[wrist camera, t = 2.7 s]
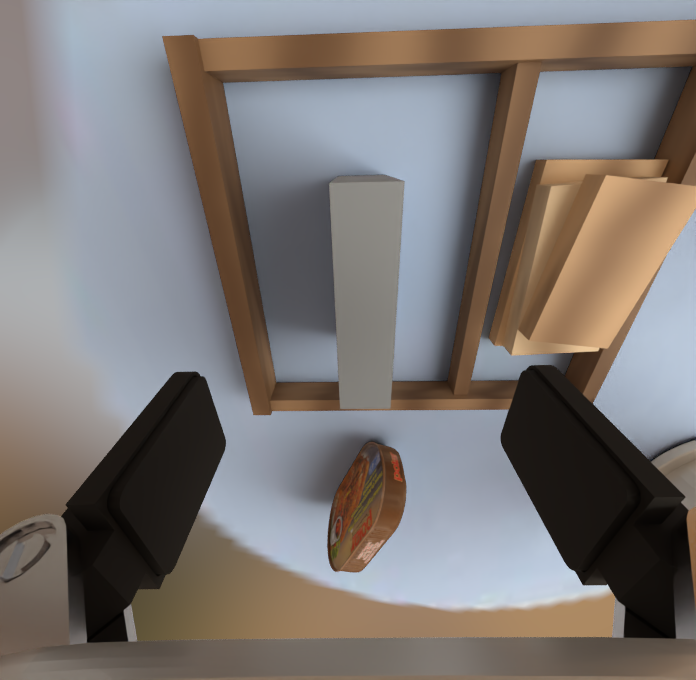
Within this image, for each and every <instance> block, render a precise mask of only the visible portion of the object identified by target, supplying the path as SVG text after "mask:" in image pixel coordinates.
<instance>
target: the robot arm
mask: <svg viewBox="0 0 696 680" xmlns="http://www.w3.org/2000/svg"><path fill="white" fill-rule="evenodd" d="M501 444H502V447H503V449H504V451H505V452H506V454H507V456H508V458H509V460H510V462H511V464H512V465H513V467H514V469H515V471H516V473H517V475H518V477H519V478H520V480H521V482H522V484H523V486H524V488H525V489H526V491H527V493H528V495H529V497H530V499H531V501H532V502H533V504H534V506H535V508H536V510H537V512H538V514H539V515H540V517H541V519H542V521H543V523H544V525H545V527H546V528H547V530H548V532H549V534H550V536H551V538H552V540H553V541H554V543H555V545H556V547H557V549H558V551H559V553H560V554H561V556H562V558H563V560H564V562H565V563H566V565H567V566H568V567H569V568H570V569H571V570H574V571H575V572H576V574H577V575H578V577H579V579H580V581H581V583H582V584H583V585H607V584H608V586H609V587H610V589H611V591H612V592H613V594H614V596H615V609H614V623H613V635H612V637H611V638H609V637H608V638H607V637H545V638H544V637H530V638H529V637H509V638H508V637H505V638H504V637H503V638H502V637H497V638H496V637H495V638H494V637H490V638H489V637H488V638H486V637H481V638H479V637H476V638H475V637H464V638H463V637H462V638H315V639H313V638H312V639H311V638H310V639H228V640H226V639H225V640H224V639H223V640H163V641H162V640H161V641H137V638H136V632H135V626H134V620H133V615H132V609H131V602H132V600H133V598H134V596H135V594H136V592H137V590H138V589H160V587H161V584H162V582H163V580H164V577H165V575H167V574H170V573H171V572H172V570H173V569H174V567H175V565H176V563H177V560H178V558H179V556H180V554H181V551H182V549H183V547H184V544H185V542H186V540H187V537H188V535H189V532H190V530H191V528H192V526H193V523H194V521H195V519H196V516H197V514H198V512H199V509H200V507H201V505H202V502H203V500H204V498H205V495H206V493H207V491H208V488H209V486H210V484H211V481H212V479H213V477H214V474H215V472H216V470H217V467H218V465H219V463H220V460H221V458H222V456H223V453H224V451H225V447H226V439H225V436H224V433H223V430H222V427H221V424H220V421H219V418H218V415H217V412H216V409H215V406H214V402H213V399H212V396H211V393H210V390H209V387H208V384H207V381H206V379H205V378H204V377H203V376H200V374H199V373H198V372H176V373H174V374H173V375H172V376H171V377H170V378H169V380H168V381H167V382H166V383H165V384H164V386H163V387H162V388H161V389H160V391H159V392H158V393H157V394H156V395H155V397H154V398H153V399H152V400H151V401H150V403H149V404H148V405H147V406H146V408H145V409H144V410H143V411H142V412H141V414H140V415H139V416H138V417H137V418H136V420H135V421H134V422H133V423H132V425H131V426H130V427H129V428H128V429H127V431H126V432H125V433H124V434H123V435H122V437H121V438H120V439H119V440H118V442H117V443H116V444H115V445H114V447H113V448H112V449H111V450H110V451H109V453H108V454H107V455H106V456H105V457H104V459H103V460H102V461H101V462H100V463H99V465H98V466H97V467H96V468H95V470H94V471H93V472H92V473H91V474H90V476H89V477H88V478H87V479H86V480H85V482H84V483H83V484H82V485H81V487H80V488H79V489H78V490H77V491H76V493H75V494H74V495H73V496H72V497H71V499H70V500H69V501H68V502H67V504H66V506H67V507H68V509H67V510H66V511H65V512H64V513H63V515H62V516H61V517H60V516H59V515H57V514H44V515H39V516H34V517H32V518H29V519H27V520H24V521H22V522H20V523H18V524H16V525H14V526H13V527H11V528H9V529H8V530H6V531H4V532H3V533H2V534H0V680H696V440H693V441H690V442H687V443H684V444H682V445H679V446H677V447H675V448H673V449H670V450H669V451H667V452H665V453H663V454H661V455H660V456H658V457H657V458H655V459H654V460H653V461H651V462H650V461H649V460H648V459H647V458H646V457H645V456H644V455H643V454H642V453H641V452H640V451H639V450H638V449H637V448H636V447H635V446H634V445H633V444H632V443H631V442H630V441H629V440H628V439H627V438H626V437H625V436H624V435H623V434H622V433H621V432H620V431H619V430H618V429H617V428H616V427H615V426H614V425H613V424H612V423H611V422H610V421H609V420H608V419H607V418H606V417H605V416H604V415H603V414H602V413H601V412H600V411H599V410H598V409H597V408H596V407H595V406H594V405H593V404H592V403H591V402H590V401H589V400H588V399H587V398H586V397H585V396H584V395H583V394H582V393H581V392H580V391H579V390H578V389H577V388H576V387H575V386H574V385H573V384H572V383H571V382H570V381H569V380H568V379H567V378H566V377H565V376H564V375H563V374H562V373H561V372H560V371H559V370H558V369H557V368H556V367H554V366H552V365H532V366H529V367H528V368H527V370H526V371H523V372H522V373H521V375H520V378H519V381H518V384H517V387H516V390H515V393H514V396H513V399H512V402H511V405H510V408H509V411H508V414H507V417H506V420H505V424H504V427H503V430H502V433H501Z"/></svg>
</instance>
